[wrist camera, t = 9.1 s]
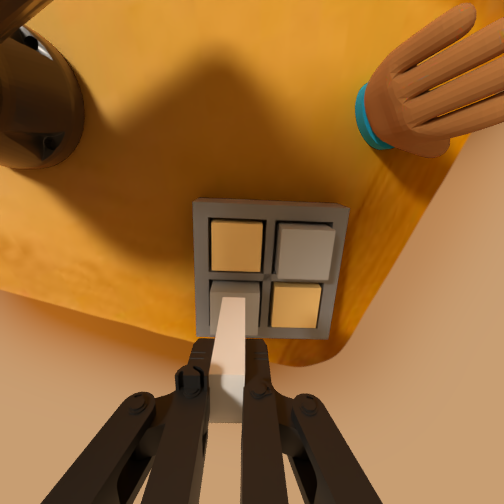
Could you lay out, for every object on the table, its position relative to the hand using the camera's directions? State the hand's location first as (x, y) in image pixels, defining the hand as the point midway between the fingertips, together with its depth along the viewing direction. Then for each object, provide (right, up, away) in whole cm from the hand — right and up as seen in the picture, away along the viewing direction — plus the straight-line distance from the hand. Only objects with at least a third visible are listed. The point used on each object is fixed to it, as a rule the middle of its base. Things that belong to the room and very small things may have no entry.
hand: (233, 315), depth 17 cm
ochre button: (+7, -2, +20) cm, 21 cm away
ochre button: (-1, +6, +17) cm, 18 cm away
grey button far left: (-1, -2, +18) cm, 18 cm away
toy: (+18, +21, +14) cm, 31 cm away
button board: (+3, +2, +19) cm, 20 cm away
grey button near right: (+7, +5, +16) cm, 18 cm away
